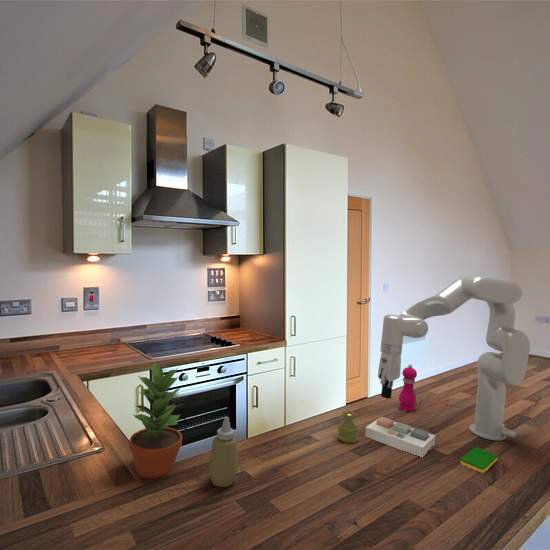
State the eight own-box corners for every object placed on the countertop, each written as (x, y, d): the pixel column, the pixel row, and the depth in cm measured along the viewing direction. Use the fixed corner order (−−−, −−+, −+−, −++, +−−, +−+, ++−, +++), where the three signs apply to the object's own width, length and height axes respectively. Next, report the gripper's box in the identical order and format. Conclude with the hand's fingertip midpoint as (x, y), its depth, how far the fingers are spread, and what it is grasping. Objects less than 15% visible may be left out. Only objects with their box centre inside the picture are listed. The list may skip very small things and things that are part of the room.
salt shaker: (334, 440, 138) (336, 412, 138) (339, 432, 145) (341, 405, 145) (355, 445, 135) (357, 417, 135) (359, 436, 142) (361, 409, 142)
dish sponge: (497, 462, 132) (498, 454, 132) (483, 475, 122) (483, 468, 122) (475, 453, 137) (475, 446, 137) (459, 465, 127) (460, 458, 127)
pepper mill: (412, 413, 168) (416, 367, 167) (395, 408, 173) (399, 363, 172) (417, 409, 174) (421, 364, 173) (401, 404, 178) (405, 361, 177)
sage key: (410, 433, 143) (410, 426, 143) (405, 437, 139) (406, 429, 139) (397, 429, 146) (398, 422, 146) (392, 433, 142) (393, 425, 142)
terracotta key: (393, 428, 147) (393, 420, 147) (388, 431, 143) (388, 424, 143) (381, 424, 150) (382, 416, 150) (376, 427, 146) (376, 420, 146)
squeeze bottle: (213, 493, 103) (217, 425, 102) (203, 476, 110) (207, 413, 109) (241, 486, 107) (246, 421, 106) (230, 471, 114) (235, 410, 113)
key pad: (434, 445, 140) (435, 434, 140) (422, 457, 130) (422, 446, 130) (380, 426, 153) (381, 416, 153) (364, 436, 143) (365, 426, 143)
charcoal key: (428, 440, 139) (428, 432, 139) (423, 444, 135) (424, 436, 135) (415, 435, 142) (415, 427, 141) (410, 439, 138) (411, 431, 138)
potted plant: (153, 490, 103) (160, 376, 101) (116, 469, 111) (122, 364, 109) (194, 466, 115) (200, 365, 114) (158, 449, 123) (163, 355, 122)
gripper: (392, 353, 137) (387, 405, 138) (408, 348, 148) (403, 396, 149) (372, 348, 142) (367, 398, 142) (389, 344, 153) (384, 390, 154)
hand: (386, 397), depth 146 cm, fingers closed
